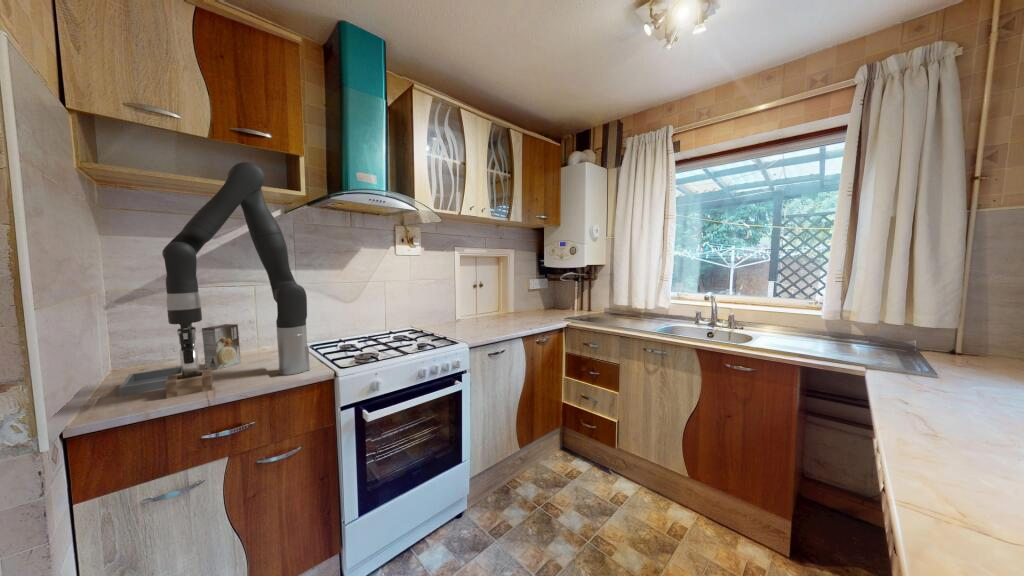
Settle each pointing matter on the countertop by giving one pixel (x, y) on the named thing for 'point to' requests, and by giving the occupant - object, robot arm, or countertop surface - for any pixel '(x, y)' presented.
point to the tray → (147, 381)
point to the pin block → (188, 384)
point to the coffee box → (221, 346)
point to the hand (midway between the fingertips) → (189, 361)
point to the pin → (190, 366)
